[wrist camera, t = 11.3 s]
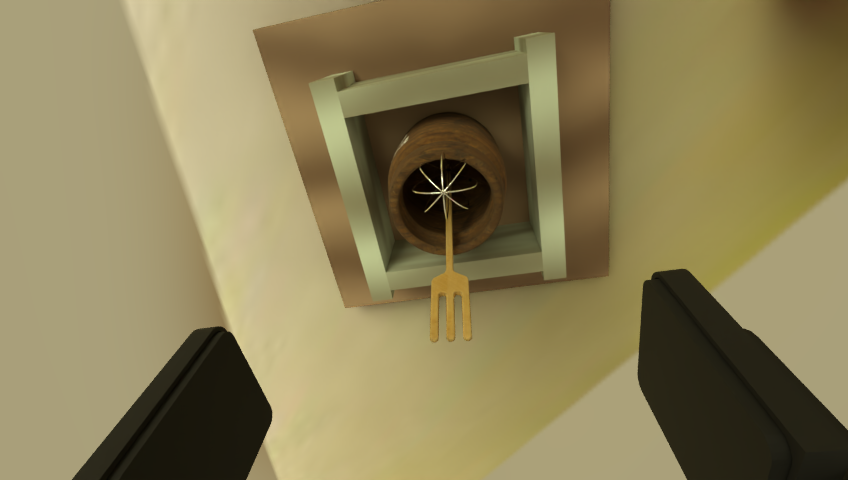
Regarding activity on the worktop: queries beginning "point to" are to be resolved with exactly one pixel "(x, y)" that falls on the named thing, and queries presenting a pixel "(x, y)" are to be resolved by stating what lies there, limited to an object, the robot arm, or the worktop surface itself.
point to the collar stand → (462, 93)
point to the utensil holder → (447, 200)
